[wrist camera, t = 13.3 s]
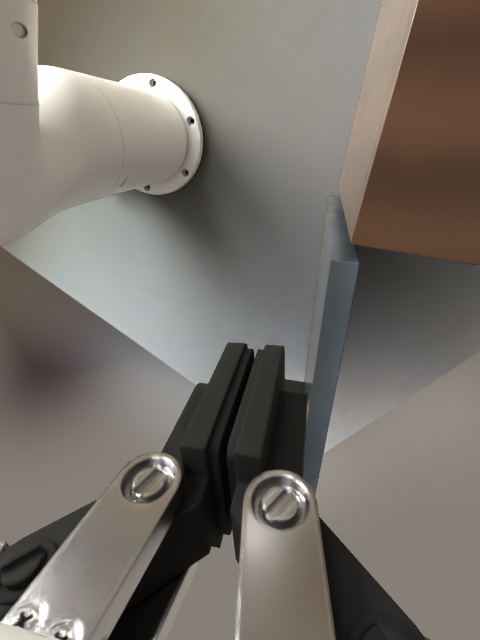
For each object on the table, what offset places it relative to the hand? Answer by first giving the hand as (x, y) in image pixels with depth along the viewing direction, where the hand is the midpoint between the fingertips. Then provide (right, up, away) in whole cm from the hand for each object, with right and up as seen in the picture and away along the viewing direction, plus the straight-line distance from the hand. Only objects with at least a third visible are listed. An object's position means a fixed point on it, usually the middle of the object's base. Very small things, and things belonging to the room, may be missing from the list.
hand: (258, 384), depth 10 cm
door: (+7, +5, +36) cm, 37 cm away
